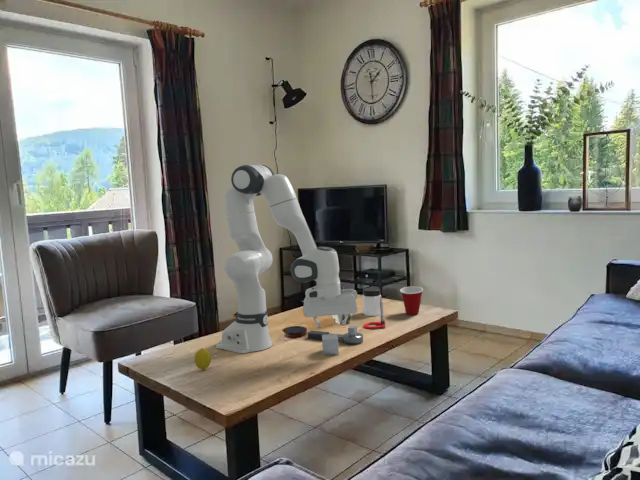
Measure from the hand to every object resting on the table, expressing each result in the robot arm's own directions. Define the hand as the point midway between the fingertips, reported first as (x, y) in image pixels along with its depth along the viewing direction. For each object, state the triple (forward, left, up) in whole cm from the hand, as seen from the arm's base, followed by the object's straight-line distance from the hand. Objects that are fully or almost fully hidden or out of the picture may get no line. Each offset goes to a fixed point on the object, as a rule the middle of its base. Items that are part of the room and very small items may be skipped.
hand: (331, 326), depth 189 cm
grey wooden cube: (-1, 0, -10) cm, 10 cm away
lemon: (-37, -30, -10) cm, 49 cm away
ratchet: (-4, +14, -10) cm, 18 cm away
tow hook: (+5, +36, -10) cm, 38 cm away
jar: (-2, +55, -10) cm, 56 cm away
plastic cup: (+16, +60, -10) cm, 63 cm away
